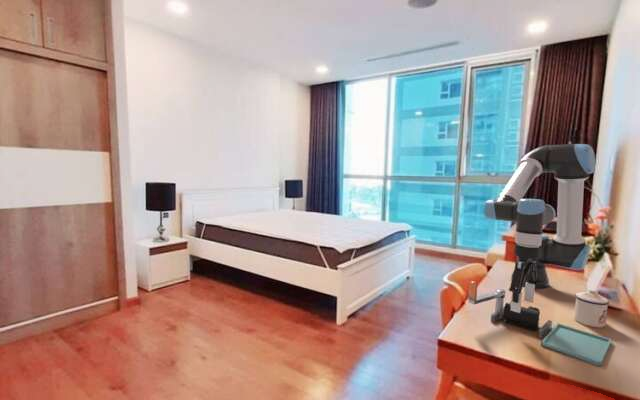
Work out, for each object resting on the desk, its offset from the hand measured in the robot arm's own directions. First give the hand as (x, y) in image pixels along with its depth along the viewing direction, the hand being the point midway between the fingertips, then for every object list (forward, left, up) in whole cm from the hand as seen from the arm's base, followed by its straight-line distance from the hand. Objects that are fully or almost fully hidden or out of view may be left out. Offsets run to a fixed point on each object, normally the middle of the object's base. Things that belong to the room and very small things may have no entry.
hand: (522, 306), depth 113 cm
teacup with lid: (-23, +15, -7) cm, 29 cm away
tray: (+1, +16, -7) cm, 17 cm away
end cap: (0, 0, -7) cm, 7 cm away
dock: (0, 0, -7) cm, 7 cm away
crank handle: (+7, -9, +1) cm, 11 cm away
